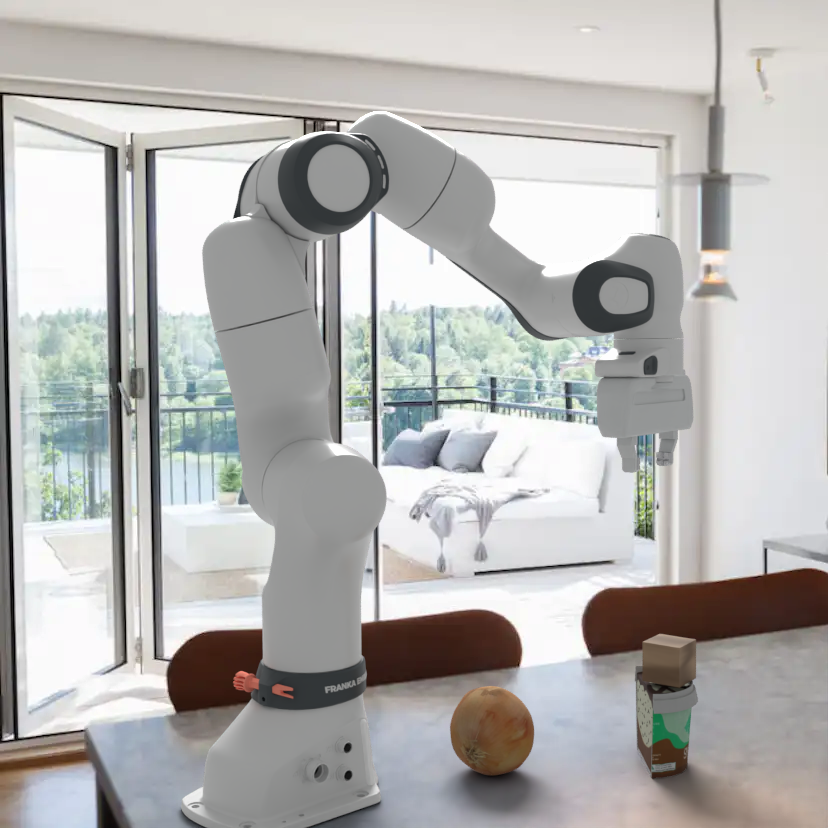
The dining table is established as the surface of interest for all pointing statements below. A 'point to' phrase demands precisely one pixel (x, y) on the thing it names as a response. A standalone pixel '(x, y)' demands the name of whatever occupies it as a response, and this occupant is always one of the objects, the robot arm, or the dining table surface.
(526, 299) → the robot arm
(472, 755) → the onion
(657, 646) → the walnut block
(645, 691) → the food container
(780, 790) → the dining table surface
